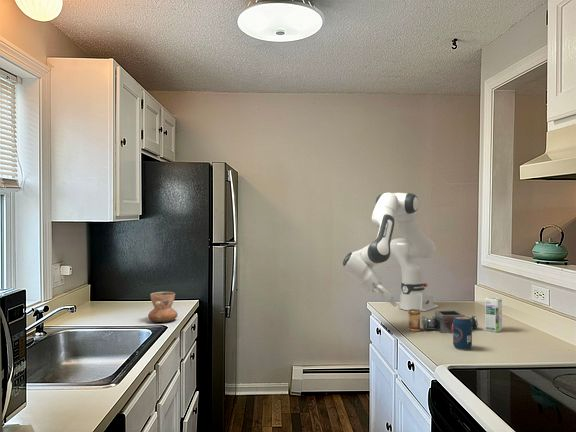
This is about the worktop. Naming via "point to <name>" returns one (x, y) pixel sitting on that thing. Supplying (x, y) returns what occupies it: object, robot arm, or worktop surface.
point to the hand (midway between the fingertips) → (393, 303)
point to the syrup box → (493, 314)
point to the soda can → (462, 332)
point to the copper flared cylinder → (414, 320)
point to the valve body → (445, 321)
